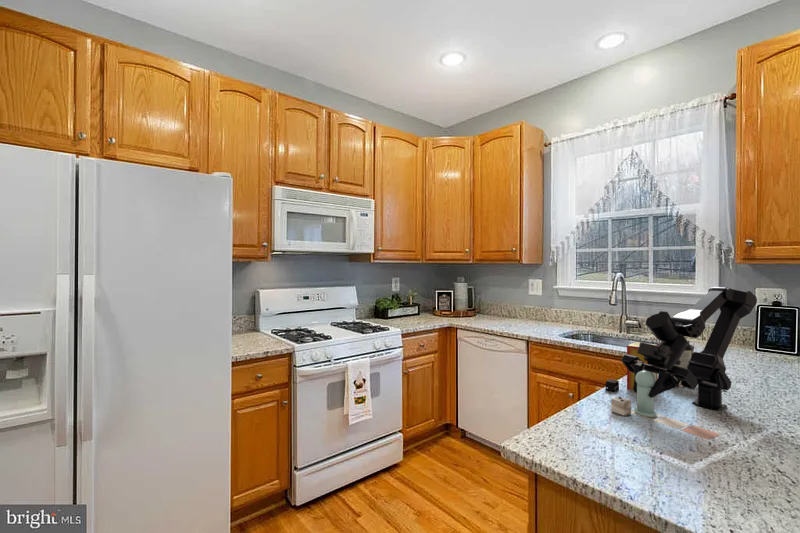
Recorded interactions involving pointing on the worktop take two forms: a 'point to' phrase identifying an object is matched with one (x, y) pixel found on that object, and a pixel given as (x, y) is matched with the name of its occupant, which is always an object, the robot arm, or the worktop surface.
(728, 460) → the worktop surface
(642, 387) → the pawn
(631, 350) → the baking soda box
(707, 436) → the game board
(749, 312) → the robot arm
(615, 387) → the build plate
